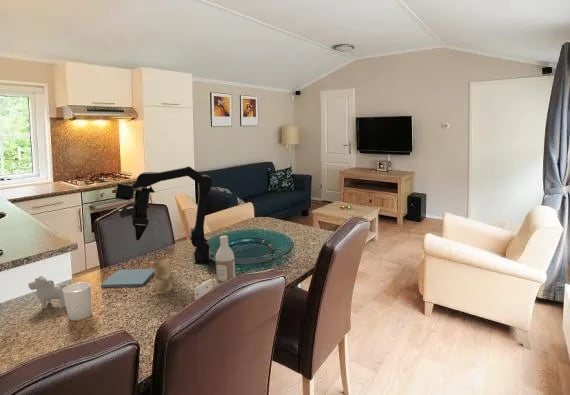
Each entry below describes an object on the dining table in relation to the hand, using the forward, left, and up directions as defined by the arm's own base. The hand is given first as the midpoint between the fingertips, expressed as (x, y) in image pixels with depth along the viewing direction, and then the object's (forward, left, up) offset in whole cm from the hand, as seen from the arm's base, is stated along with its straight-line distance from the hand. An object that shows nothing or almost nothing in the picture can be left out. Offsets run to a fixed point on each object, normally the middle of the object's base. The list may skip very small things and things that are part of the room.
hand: (137, 238), depth 161 cm
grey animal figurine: (+18, +33, -15) cm, 40 cm away
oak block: (-18, +23, -14) cm, 32 cm away
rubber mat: (0, +10, -14) cm, 17 cm away
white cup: (+4, +41, -15) cm, 43 cm away
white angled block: (-36, +36, -15) cm, 52 cm away
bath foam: (-41, +21, -15) cm, 48 cm away
